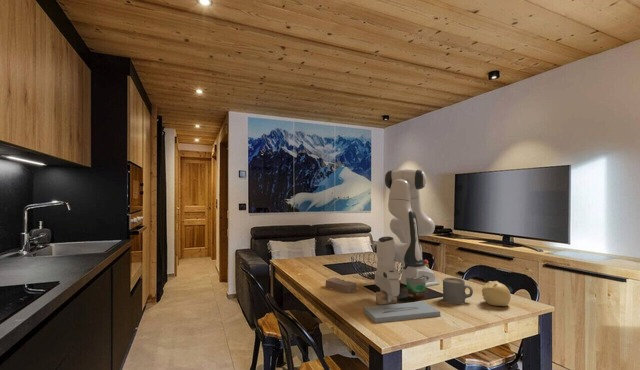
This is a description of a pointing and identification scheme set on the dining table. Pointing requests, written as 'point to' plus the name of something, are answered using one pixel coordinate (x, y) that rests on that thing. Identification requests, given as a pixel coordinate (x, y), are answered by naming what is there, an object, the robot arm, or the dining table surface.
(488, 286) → the pale yellow rounded lump
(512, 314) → the dining table surface
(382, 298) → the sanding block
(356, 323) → the dining table surface
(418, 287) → the food container
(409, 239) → the robot arm
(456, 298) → the coffee mug
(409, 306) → the board
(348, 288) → the brick
